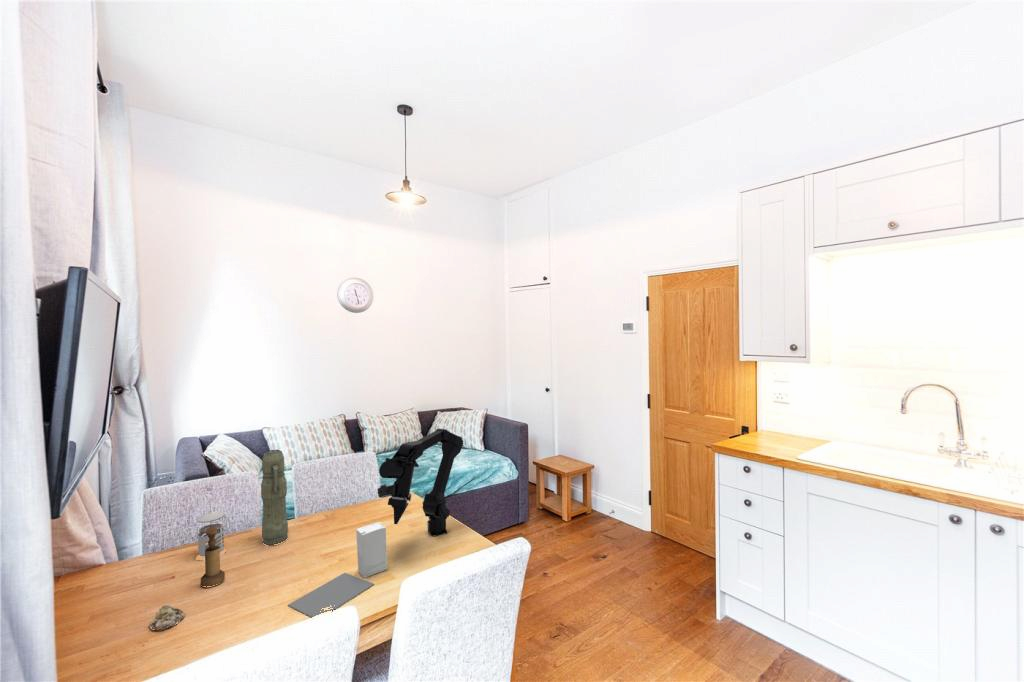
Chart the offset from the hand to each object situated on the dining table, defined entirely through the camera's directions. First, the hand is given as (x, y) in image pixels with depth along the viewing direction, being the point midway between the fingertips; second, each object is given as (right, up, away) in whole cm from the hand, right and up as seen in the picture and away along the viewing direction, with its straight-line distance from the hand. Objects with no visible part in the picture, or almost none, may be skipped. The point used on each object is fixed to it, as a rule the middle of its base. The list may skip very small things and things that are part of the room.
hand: (395, 523), depth 156 cm
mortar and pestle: (-55, -13, -15) cm, 59 cm away
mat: (-13, -12, -23) cm, 29 cm away
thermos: (-51, -13, +14) cm, 54 cm away
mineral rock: (-55, -13, -34) cm, 66 cm away
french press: (-69, -13, +5) cm, 70 cm away
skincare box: (-5, -12, -10) cm, 16 cm away
